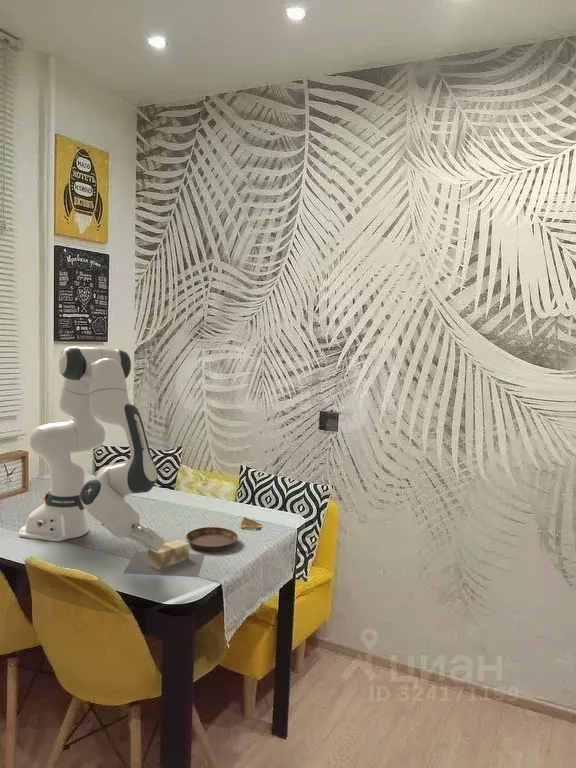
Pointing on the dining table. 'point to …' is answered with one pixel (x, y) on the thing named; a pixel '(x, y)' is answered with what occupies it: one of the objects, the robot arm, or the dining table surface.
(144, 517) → the dining table surface
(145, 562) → the rubber mat
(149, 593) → the dining table surface
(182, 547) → the maple block
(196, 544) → the plant saucer
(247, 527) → the pie slice
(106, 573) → the dining table surface
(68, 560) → the dining table surface
